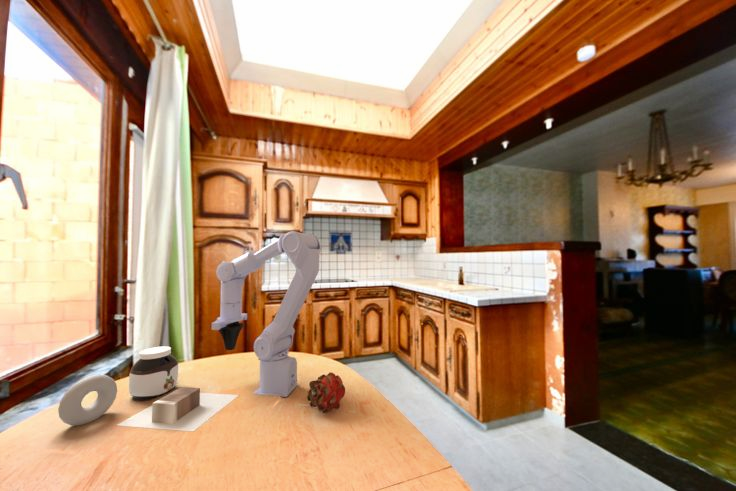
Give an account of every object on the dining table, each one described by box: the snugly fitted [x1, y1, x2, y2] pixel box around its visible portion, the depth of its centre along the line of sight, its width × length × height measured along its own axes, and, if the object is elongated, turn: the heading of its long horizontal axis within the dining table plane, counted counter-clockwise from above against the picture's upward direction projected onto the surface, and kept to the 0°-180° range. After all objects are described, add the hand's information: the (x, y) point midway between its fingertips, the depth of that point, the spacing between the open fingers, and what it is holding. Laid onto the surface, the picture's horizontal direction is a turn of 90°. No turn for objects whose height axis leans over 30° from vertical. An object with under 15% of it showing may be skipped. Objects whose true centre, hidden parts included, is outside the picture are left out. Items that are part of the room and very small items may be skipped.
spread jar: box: [128, 345, 179, 401], centre depth 77 cm, size 12×11×12 cm
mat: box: [115, 392, 240, 433], centre depth 67 cm, size 18×16×1 cm
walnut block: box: [152, 386, 201, 424], centre depth 65 cm, size 5×4×8 cm
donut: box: [57, 374, 118, 426], centre depth 63 cm, size 10×4×10 cm, turn 161°
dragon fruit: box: [306, 372, 346, 413], centre depth 69 cm, size 8×8×12 cm
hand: (230, 349), depth 84 cm, fingers closed
